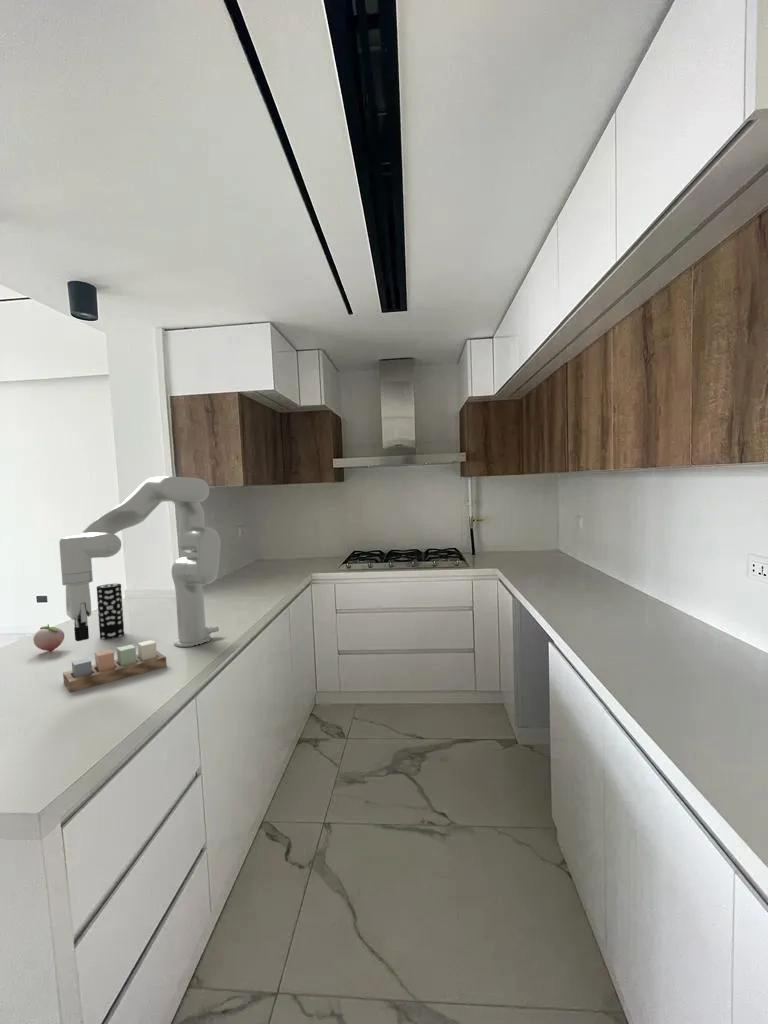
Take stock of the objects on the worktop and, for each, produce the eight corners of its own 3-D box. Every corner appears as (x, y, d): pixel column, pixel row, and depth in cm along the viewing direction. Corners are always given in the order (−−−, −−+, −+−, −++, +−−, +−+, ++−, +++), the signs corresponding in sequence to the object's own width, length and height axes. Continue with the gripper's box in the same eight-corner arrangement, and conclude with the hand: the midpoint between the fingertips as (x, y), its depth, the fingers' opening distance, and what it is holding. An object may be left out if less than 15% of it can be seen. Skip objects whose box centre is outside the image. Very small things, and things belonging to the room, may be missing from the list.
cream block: (152, 655, 155) (151, 639, 155) (156, 658, 152) (155, 642, 152) (138, 658, 152) (137, 643, 152) (142, 661, 149) (141, 645, 149)
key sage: (132, 659, 151) (131, 644, 151) (136, 663, 148) (135, 647, 147) (117, 663, 148) (116, 647, 148) (121, 667, 145) (120, 650, 145)
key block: (156, 658, 158) (155, 649, 158) (166, 666, 151) (166, 657, 151) (63, 682, 141) (63, 672, 141) (70, 692, 133) (69, 681, 133)
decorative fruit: (27, 655, 167) (25, 627, 166) (49, 647, 175) (47, 621, 174) (49, 656, 165) (47, 628, 164) (70, 648, 173) (68, 621, 172)
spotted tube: (94, 638, 184) (91, 587, 183) (112, 632, 192) (109, 583, 191) (111, 639, 182) (108, 588, 181) (129, 633, 190) (125, 583, 189)
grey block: (89, 674, 143) (88, 657, 142) (92, 677, 140) (91, 661, 139) (72, 678, 140) (71, 661, 140) (75, 682, 137) (74, 665, 137)
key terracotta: (111, 665, 147) (110, 649, 146) (114, 668, 144) (113, 652, 143) (95, 669, 144) (94, 652, 144) (99, 672, 141) (98, 656, 141)
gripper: (57, 577, 142) (62, 637, 143) (67, 583, 131) (71, 648, 132) (86, 573, 147) (91, 631, 148) (98, 578, 136) (102, 641, 137)
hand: (82, 639), depth 140 cm, fingers closed
